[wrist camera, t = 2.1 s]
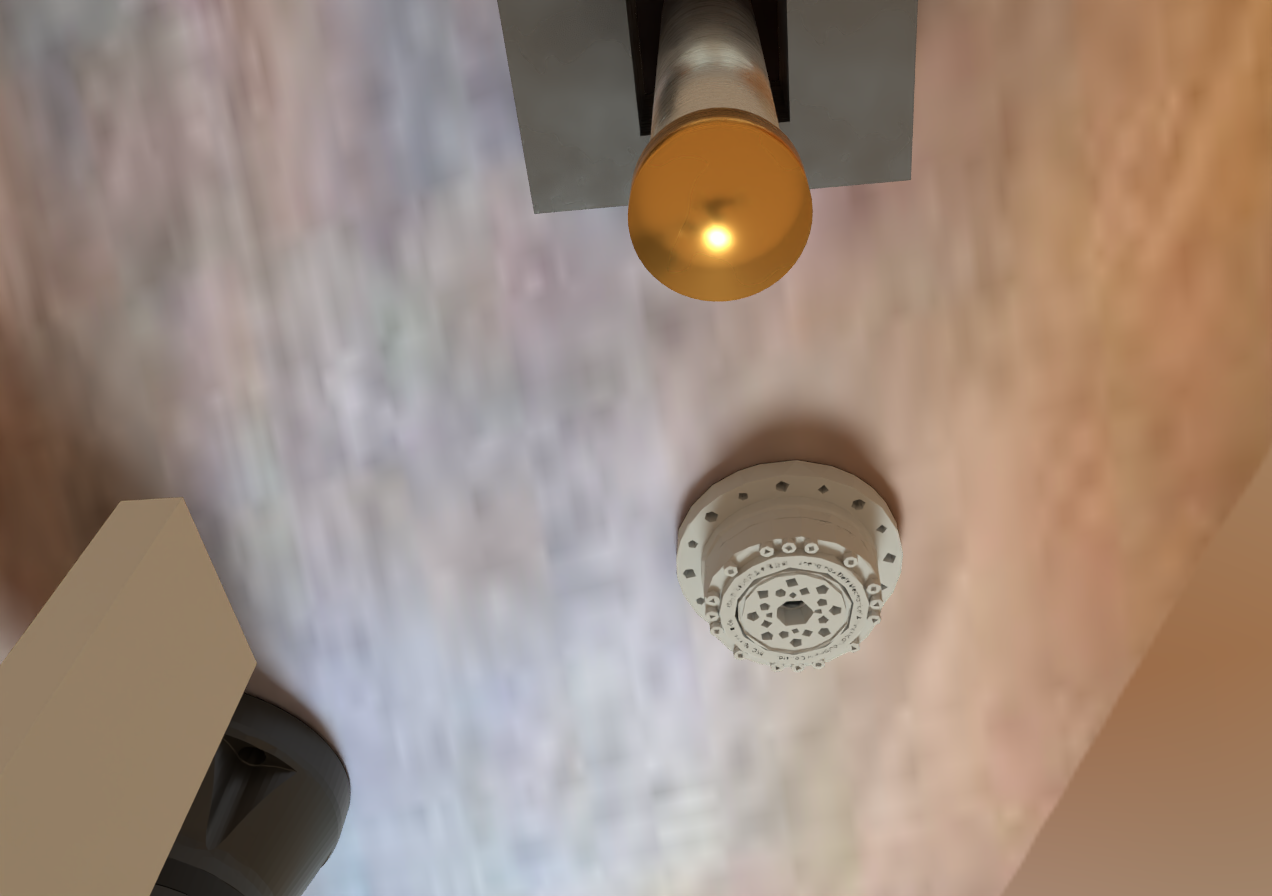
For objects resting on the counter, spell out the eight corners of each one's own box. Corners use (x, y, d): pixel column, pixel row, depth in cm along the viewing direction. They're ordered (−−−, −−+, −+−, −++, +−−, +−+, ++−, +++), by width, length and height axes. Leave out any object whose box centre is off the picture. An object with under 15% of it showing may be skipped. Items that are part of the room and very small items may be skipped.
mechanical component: (897, 445, 44) (663, 466, 45) (916, 509, 41) (661, 530, 42) (897, 617, 50) (689, 632, 51) (913, 687, 46) (688, 701, 47)
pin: (658, 77, 36) (637, 307, 22) (647, -37, 34) (617, 136, 20) (764, 66, 36) (814, 294, 21) (759, -49, 33) (811, 117, 19)
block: (549, 165, 38) (534, 213, 34) (504, -115, 33) (481, -94, 29) (888, 133, 37) (910, 180, 33) (895, -162, 32) (923, -147, 28)
